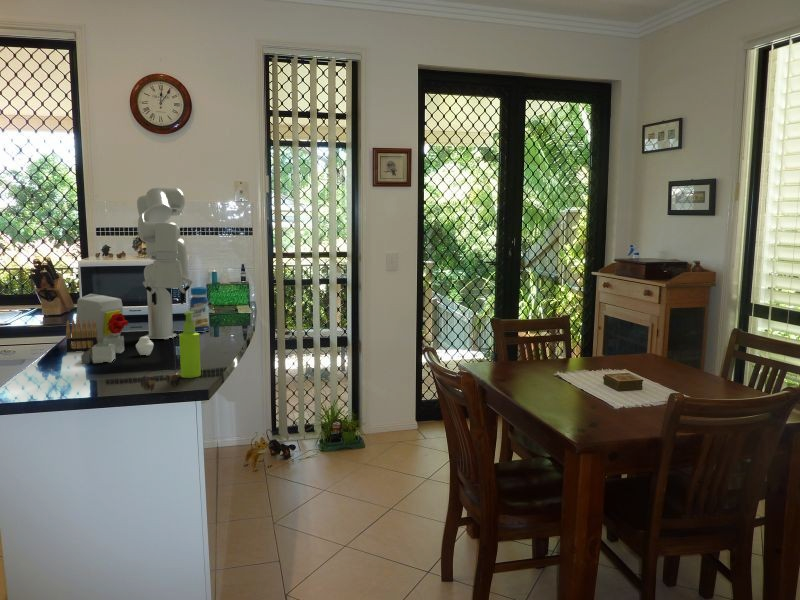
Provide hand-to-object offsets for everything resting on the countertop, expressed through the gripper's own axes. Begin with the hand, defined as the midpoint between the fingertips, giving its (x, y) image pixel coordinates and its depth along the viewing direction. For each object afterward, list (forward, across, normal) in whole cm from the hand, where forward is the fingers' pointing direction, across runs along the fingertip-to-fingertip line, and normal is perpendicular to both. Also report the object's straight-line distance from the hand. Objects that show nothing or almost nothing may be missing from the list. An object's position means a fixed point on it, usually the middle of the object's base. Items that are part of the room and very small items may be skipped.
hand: (168, 304), depth 226 cm
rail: (+18, -23, 0) cm, 29 cm away
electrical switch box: (+18, -29, +32) cm, 47 cm away
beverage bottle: (+18, +7, +51) cm, 55 cm away
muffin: (+19, -9, 0) cm, 21 cm away
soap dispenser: (+19, +10, -39) cm, 44 cm away
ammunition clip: (+19, -33, +14) cm, 40 cm away
